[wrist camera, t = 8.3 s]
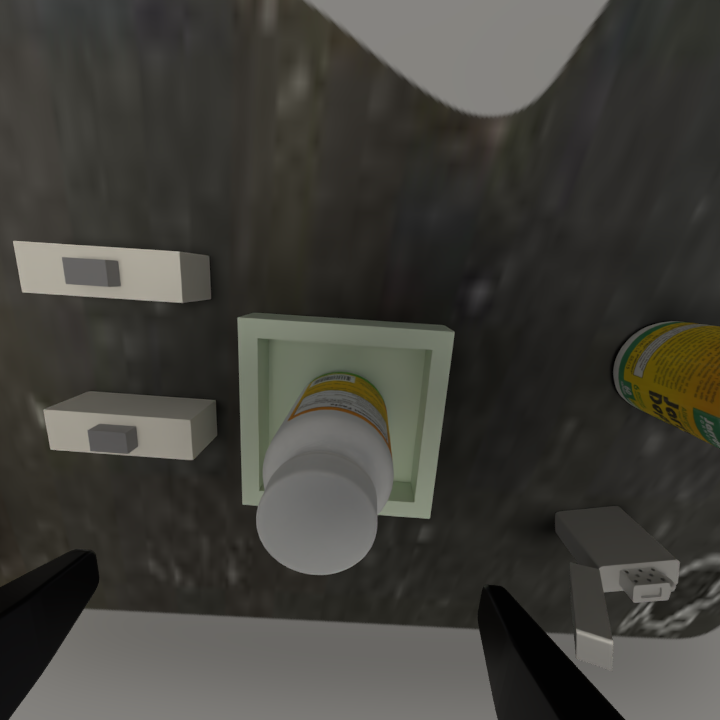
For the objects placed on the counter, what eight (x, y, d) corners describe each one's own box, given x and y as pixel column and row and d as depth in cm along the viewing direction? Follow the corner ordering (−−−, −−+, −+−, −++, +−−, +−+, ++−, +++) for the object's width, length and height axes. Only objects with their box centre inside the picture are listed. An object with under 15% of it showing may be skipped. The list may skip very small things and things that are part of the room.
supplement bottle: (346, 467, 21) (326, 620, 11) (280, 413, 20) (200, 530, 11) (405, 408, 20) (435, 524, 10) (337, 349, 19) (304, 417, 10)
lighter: (620, 505, 22) (761, 633, 14) (619, 527, 22) (755, 664, 14) (509, 516, 22) (584, 646, 14) (510, 538, 22) (584, 676, 15)
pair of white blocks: (217, 435, 21) (185, 468, 18) (94, 426, 21) (36, 457, 18) (209, 255, 19) (169, 250, 15) (68, 246, 19) (-6, 238, 15)
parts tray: (423, 491, 22) (429, 518, 19) (256, 479, 22) (242, 504, 19) (444, 325, 19) (454, 332, 17) (254, 312, 19) (237, 317, 17)
